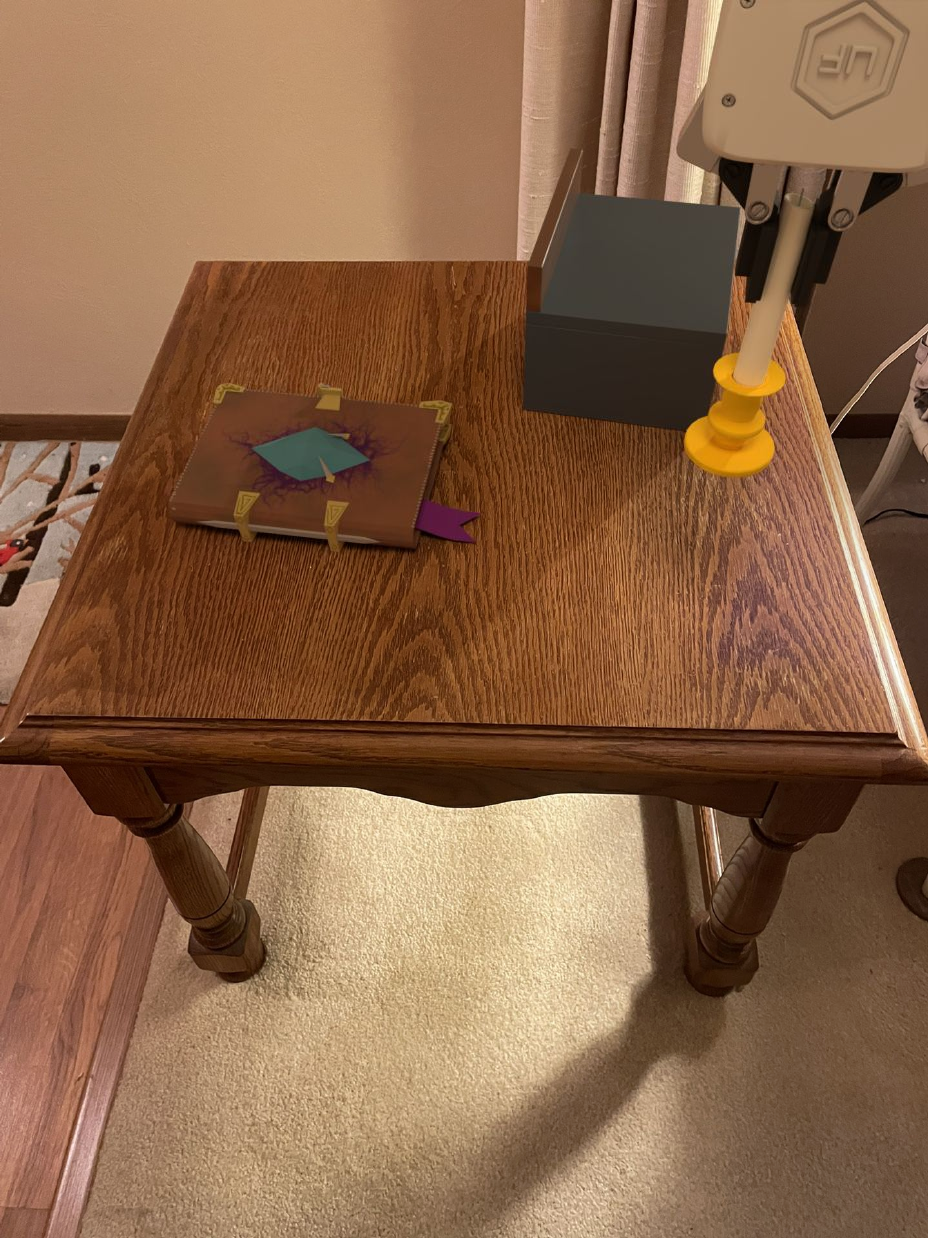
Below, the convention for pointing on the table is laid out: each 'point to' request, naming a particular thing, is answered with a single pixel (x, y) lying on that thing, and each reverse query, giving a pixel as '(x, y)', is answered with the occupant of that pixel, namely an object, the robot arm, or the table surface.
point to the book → (319, 468)
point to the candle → (752, 364)
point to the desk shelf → (627, 306)
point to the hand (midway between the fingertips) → (775, 288)
